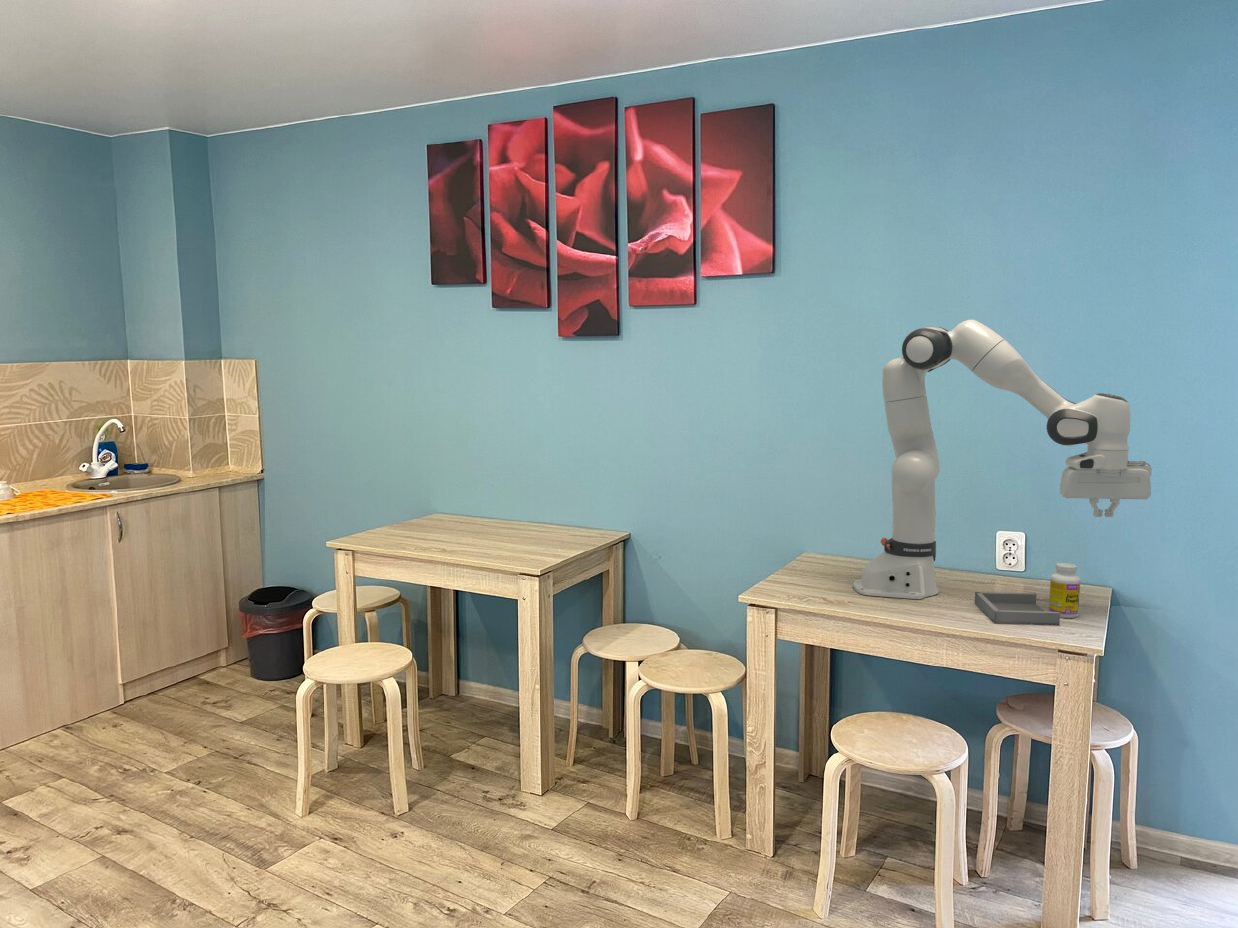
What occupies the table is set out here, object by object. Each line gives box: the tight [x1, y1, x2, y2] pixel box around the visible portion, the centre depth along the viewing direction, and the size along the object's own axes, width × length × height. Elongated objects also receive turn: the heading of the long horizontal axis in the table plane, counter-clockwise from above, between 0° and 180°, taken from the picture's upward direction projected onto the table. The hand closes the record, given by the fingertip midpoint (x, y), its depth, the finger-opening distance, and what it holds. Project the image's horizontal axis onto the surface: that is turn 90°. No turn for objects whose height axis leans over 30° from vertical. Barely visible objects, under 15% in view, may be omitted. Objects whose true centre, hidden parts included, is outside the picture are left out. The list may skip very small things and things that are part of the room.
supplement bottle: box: [1048, 562, 1081, 619], centre depth 231 cm, size 7×7×13 cm
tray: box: [974, 591, 1061, 626], centre depth 233 cm, size 15×18×3 cm
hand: (1103, 516), depth 228 cm, fingers closed
